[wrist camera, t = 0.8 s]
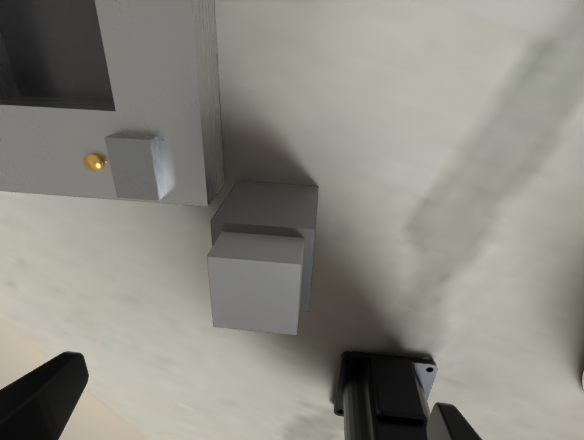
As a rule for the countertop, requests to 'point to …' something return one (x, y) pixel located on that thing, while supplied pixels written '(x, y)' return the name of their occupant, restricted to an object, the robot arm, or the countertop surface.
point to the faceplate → (110, 100)
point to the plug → (262, 256)
